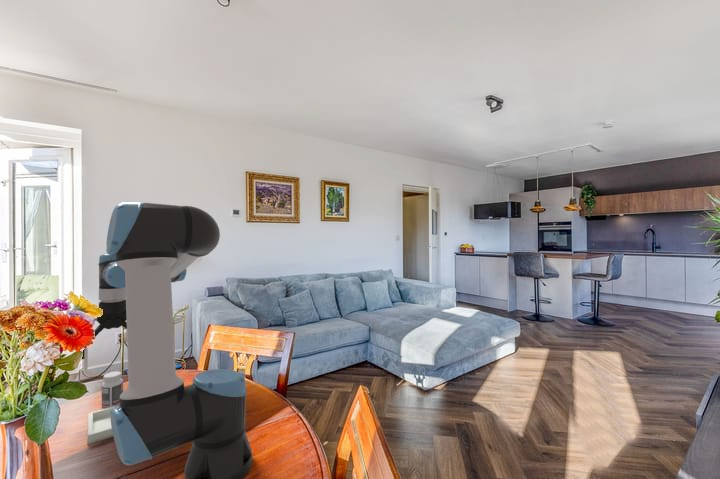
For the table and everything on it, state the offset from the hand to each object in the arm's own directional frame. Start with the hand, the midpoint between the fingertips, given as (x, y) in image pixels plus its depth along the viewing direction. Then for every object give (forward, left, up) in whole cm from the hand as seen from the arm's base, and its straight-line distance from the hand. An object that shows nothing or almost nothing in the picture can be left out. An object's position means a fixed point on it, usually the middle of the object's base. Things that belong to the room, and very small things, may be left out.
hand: (112, 363), depth 107 cm
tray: (-15, -1, -13) cm, 20 cm away
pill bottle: (0, 0, -14) cm, 14 cm away
